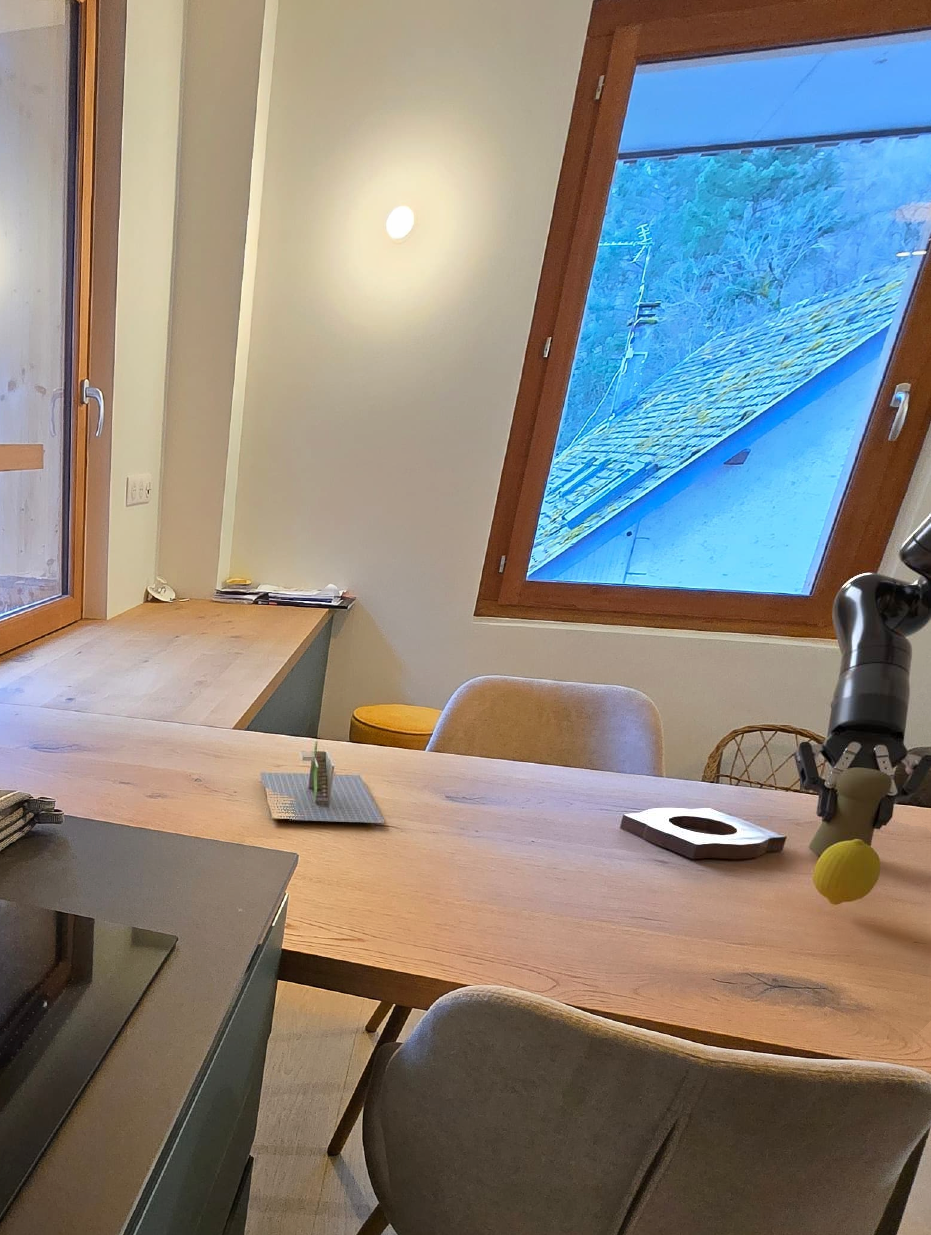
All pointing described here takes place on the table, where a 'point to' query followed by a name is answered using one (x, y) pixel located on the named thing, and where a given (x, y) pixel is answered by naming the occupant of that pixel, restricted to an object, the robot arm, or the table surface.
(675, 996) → the table surface
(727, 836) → the holder
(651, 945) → the table surface
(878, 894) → the table surface
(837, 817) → the cork
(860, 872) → the lemon
